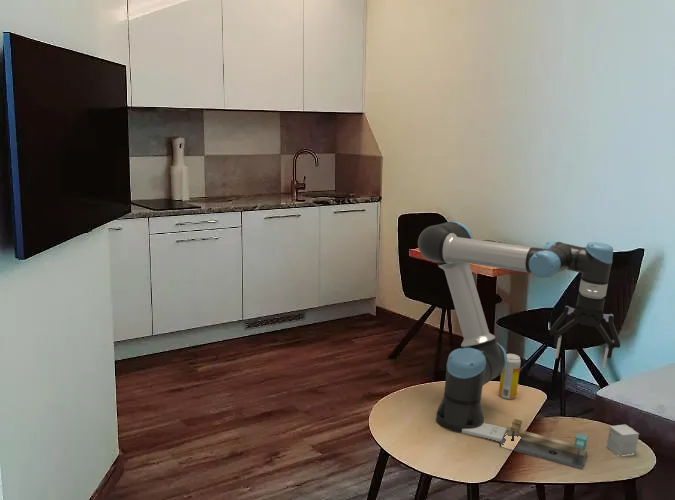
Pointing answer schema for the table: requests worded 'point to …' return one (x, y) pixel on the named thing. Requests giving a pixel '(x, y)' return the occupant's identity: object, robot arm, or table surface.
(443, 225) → the robot arm
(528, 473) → the table surface
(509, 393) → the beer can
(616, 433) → the product box
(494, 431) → the external hard drive
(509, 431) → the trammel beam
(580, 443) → the block
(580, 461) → the bolt plate
